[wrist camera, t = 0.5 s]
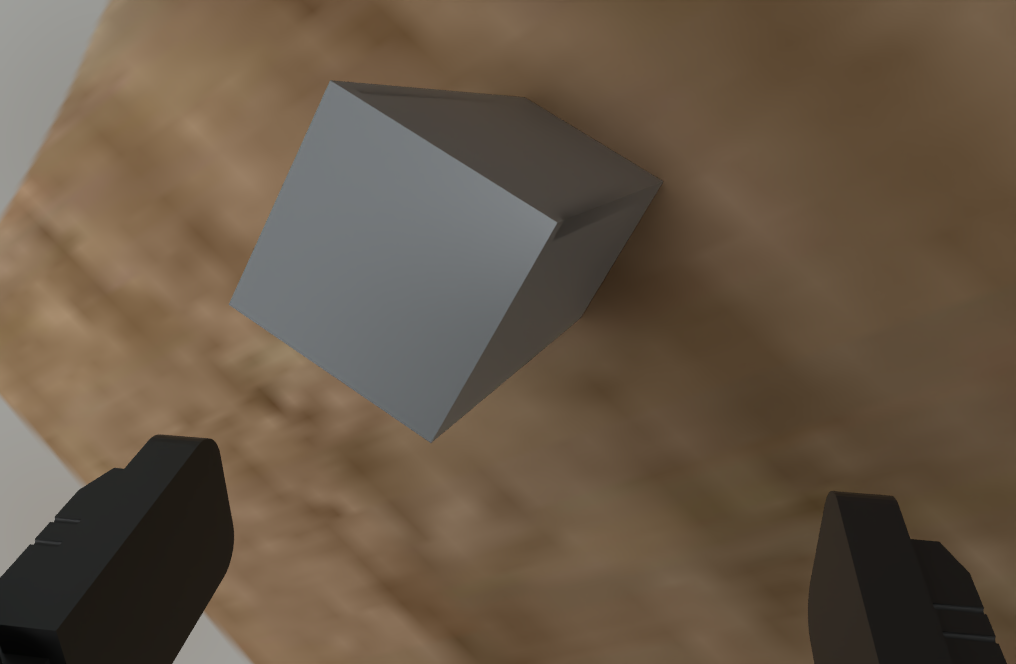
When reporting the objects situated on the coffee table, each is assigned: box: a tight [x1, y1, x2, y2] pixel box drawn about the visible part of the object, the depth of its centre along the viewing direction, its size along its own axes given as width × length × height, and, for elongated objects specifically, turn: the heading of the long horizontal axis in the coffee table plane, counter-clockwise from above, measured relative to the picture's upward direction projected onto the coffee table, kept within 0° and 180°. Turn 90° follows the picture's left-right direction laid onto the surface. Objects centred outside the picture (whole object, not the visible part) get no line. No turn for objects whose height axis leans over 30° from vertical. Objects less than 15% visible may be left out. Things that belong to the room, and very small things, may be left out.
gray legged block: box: [229, 80, 663, 443], centre depth 30 cm, size 6×6×16 cm
